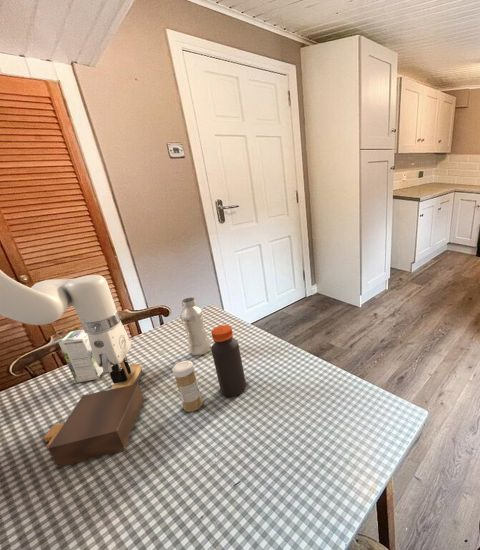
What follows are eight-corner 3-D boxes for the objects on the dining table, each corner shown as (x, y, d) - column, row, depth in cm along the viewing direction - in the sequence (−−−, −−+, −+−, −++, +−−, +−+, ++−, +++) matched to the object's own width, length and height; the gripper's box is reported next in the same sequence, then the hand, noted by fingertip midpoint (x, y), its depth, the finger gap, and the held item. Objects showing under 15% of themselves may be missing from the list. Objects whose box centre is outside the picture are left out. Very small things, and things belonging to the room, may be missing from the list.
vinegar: (215, 395, 85) (201, 334, 78) (231, 379, 91) (219, 321, 84) (236, 399, 84) (224, 338, 76) (251, 383, 90) (240, 324, 82)
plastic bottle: (216, 347, 106) (204, 296, 98) (201, 359, 100) (188, 306, 92) (200, 345, 108) (188, 294, 100) (185, 356, 101) (171, 303, 94)
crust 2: (60, 456, 68) (53, 458, 67) (69, 442, 71) (62, 443, 71) (53, 444, 66) (46, 445, 66) (62, 429, 70) (56, 431, 69)
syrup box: (85, 371, 95) (68, 331, 89) (107, 367, 96) (92, 328, 91) (75, 383, 90) (56, 342, 84) (99, 379, 91) (82, 338, 86)
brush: (127, 402, 82) (116, 374, 79) (110, 406, 81) (98, 378, 78) (143, 372, 94) (134, 346, 90) (128, 375, 93) (118, 349, 89)
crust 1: (64, 433, 72) (66, 437, 73) (73, 420, 76) (75, 424, 76) (43, 438, 71) (45, 442, 71) (53, 425, 74) (55, 428, 75)
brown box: (52, 469, 65) (41, 449, 63) (86, 414, 79) (77, 396, 77) (124, 450, 69) (116, 431, 67) (144, 400, 83) (138, 383, 81)
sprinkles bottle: (186, 401, 83) (175, 361, 78) (205, 398, 84) (194, 358, 79) (181, 414, 79) (169, 372, 74) (200, 411, 80) (189, 369, 75)
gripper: (106, 334, 73) (129, 394, 80) (128, 305, 87) (146, 358, 94) (67, 341, 71) (94, 401, 78) (96, 310, 85) (117, 363, 92)
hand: (122, 377), depth 86 cm, fingers closed on brush, 2 cm apart
